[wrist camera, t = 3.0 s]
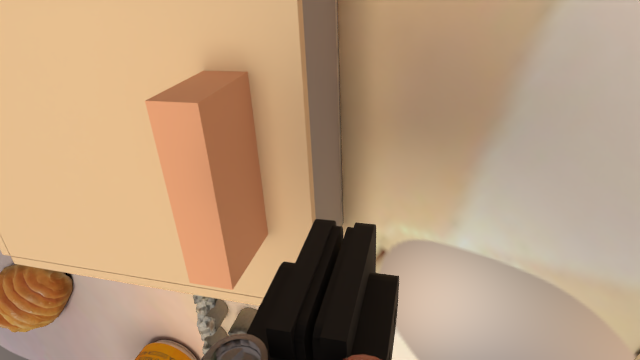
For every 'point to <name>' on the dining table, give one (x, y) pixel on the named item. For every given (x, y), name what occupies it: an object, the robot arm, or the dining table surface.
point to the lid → (156, 141)
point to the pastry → (31, 296)
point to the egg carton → (219, 320)
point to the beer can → (165, 351)
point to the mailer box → (324, 105)
